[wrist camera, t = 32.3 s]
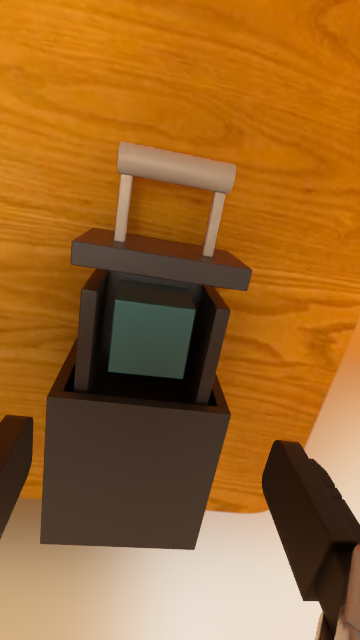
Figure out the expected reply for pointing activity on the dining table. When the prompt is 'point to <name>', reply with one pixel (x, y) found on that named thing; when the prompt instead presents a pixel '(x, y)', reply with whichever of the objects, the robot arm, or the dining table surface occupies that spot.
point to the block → (151, 330)
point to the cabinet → (127, 467)
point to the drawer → (157, 280)
